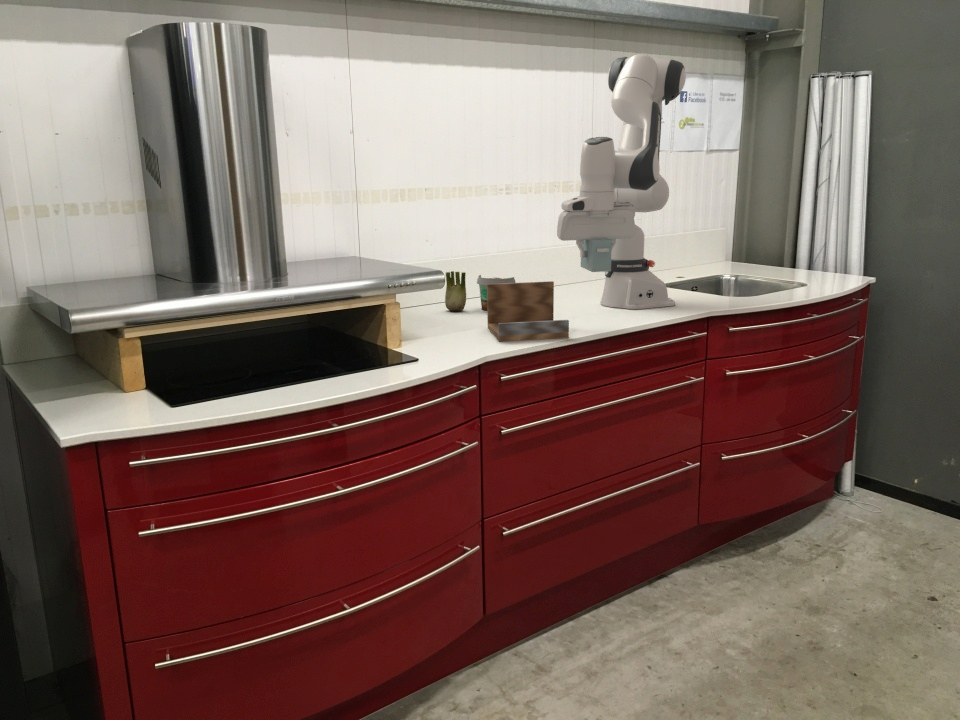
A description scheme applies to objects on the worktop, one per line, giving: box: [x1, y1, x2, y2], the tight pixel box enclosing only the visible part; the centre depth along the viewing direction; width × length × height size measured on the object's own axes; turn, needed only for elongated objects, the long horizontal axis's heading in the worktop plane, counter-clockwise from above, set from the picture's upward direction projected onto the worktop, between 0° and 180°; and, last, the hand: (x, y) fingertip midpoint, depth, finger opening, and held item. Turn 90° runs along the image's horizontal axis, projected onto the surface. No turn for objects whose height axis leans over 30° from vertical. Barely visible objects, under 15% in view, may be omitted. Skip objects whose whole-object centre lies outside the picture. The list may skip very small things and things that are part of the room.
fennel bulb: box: [444, 270, 467, 312], centre depth 236 cm, size 6×5×12 cm
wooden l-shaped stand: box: [486, 281, 570, 343], centre depth 206 cm, size 18×16×12 cm
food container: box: [476, 274, 517, 312], centre depth 236 cm, size 12×6×10 cm, turn 62°
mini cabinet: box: [580, 239, 612, 273], centre depth 205 cm, size 5×11×8 cm, turn 10°
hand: (595, 256), depth 206 cm, fingers closed on mini cabinet, 5 cm apart
